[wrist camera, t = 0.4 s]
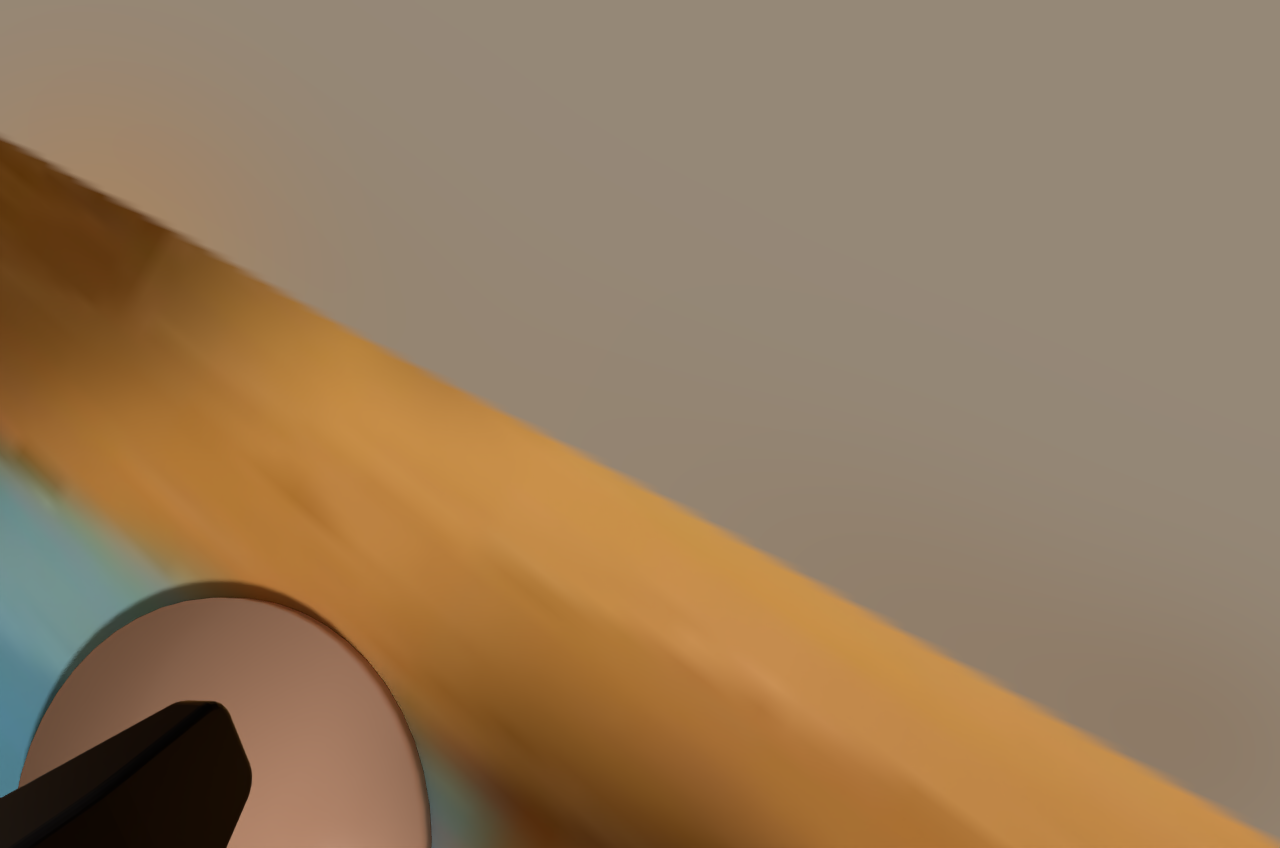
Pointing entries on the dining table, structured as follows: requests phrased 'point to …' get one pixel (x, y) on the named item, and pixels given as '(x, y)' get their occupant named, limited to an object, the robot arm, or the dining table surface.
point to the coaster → (259, 720)
